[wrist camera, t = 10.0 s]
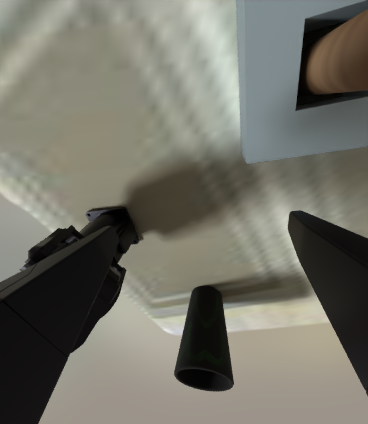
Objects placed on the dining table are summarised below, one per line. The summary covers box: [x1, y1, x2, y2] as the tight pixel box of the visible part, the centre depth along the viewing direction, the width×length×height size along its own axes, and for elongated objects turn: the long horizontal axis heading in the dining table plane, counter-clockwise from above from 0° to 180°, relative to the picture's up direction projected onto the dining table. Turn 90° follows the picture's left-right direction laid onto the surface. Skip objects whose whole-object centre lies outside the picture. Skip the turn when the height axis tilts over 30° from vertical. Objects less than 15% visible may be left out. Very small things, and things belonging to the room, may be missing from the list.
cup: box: [174, 286, 234, 391], centre depth 28 cm, size 8×8×12 cm
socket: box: [236, 0, 368, 164], centre depth 13 cm, size 12×12×4 cm
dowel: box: [297, 9, 368, 96], centre depth 11 cm, size 4×4×8 cm
